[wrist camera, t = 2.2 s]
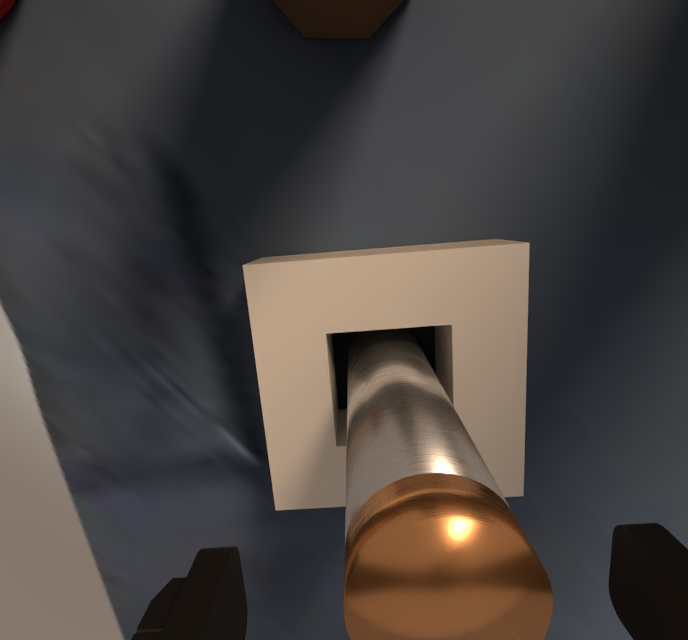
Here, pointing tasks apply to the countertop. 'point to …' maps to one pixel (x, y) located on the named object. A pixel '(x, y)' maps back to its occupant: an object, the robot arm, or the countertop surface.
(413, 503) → the plug
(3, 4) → the canned food
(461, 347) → the socket block
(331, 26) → the beer bottle
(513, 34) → the countertop surface
